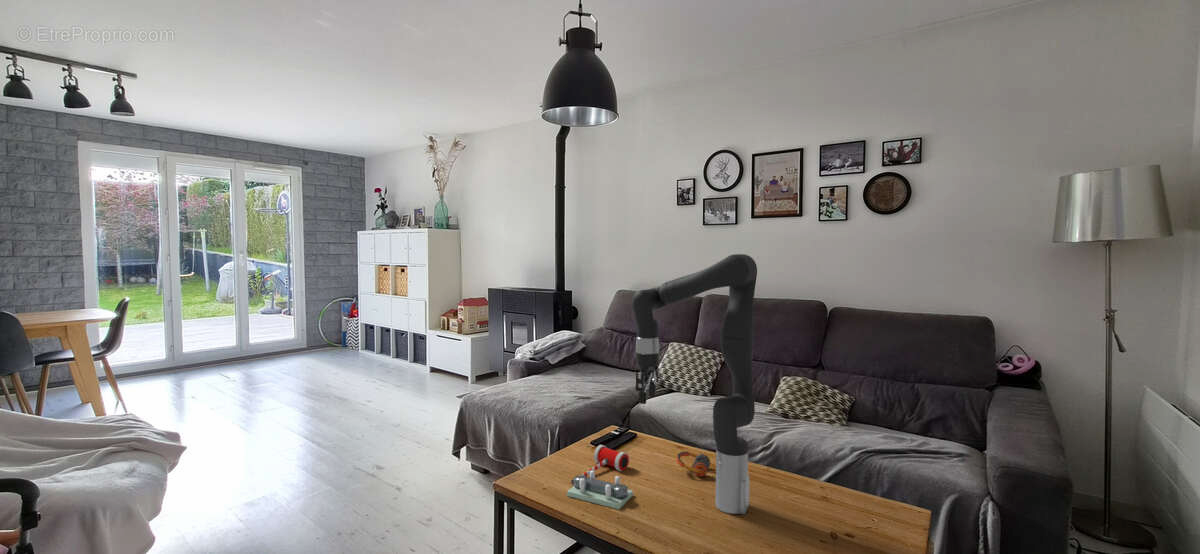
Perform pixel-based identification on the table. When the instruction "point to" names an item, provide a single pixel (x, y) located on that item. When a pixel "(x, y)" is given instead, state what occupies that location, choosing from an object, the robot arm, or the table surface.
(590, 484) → the grey ball-ended rod
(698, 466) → the headphones
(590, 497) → the tool rack
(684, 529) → the table surface
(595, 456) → the toy hammer
